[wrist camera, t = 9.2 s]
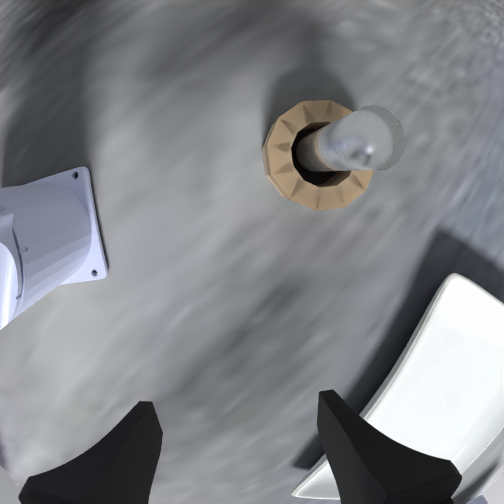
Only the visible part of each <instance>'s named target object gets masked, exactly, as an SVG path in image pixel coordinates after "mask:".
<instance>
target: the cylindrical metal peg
mask: <svg viewBox="0 0 504 504" xmlns="http://www.w3.org/2000/svg"><path fill="white" fill-rule="evenodd" d="M404 148H405V136H404V132H403V129H402V126H401V124H400V122H399V121H398V119H397V118H396V117H395V116H394V115H393V114H392V113H391V112H389V111H388V110H386V109H384V108H382V107H379V106H366V107H363V108H361V109H359V110H357V111H354V112H352V113H350V114H348V115H346V116H344V117H342V118H340V119H338V120H336V121H334V122H332V123H330V124H328V125H326V126H325V127H323V128H321V129H319V130H317V131H315V132H313V133H311V134H309V135H307V136H305V137H304V138H303V139H301V141H300V142H299V143H298V146H297V149H296V155H297V159H298V161H299V163H300V164H301V165H302V166H303V167H304V168H305V169H307V170H309V171H314V172H318V171H348V170H385V169H388V168H391V167H392V166H394V165H395V164H396V163H397V162H398V161H399V160H400V158H401V157H402V155H403V152H404Z"/></svg>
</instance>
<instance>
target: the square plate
mask: <svg viewBox="0 0 504 504" xmlns="http://www.w3.org/2000/svg"><path fill="white" fill-rule="evenodd" d="M359 415H360V416H361V417H362V418H363V419H364V420H366V421H367V422H368V423H369V424H371V425H372V426H373V427H374V428H376V429H377V430H379V431H380V432H382V433H383V434H385V435H386V436H388V437H389V438H391V439H393V440H395V441H396V442H398V443H400V444H402V445H405V446H407V447H409V448H411V449H414V450H416V451H419V452H421V453H424V454H427V455H430V456H434V457H438V458H442V459H447V460H451V462H452V463H453V464H454V465H455V466H456V468H457V469H458V471H459V473H460V474H462V473H463V472H464V471H465V470H466V469H467V468H468V467H469V466H470V465H471V464H472V463H473V462H474V461H475V460H476V459H477V458H478V457H479V456H480V454H481V453H482V452H483V451H484V450H485V449H486V448H487V447H488V446H489V444H490V443H491V442H492V441H493V440H494V439H495V437H496V436H497V435H498V434H499V432H500V431H501V430H502V429H503V427H504V303H502V302H501V301H500V300H498V299H497V298H495V297H494V296H493V295H491V294H490V293H489V292H487V291H486V290H484V289H483V288H482V287H480V286H479V285H477V284H476V283H474V282H473V281H471V280H470V279H468V278H466V277H464V276H462V275H460V274H457V273H452V274H449V275H448V276H447V277H446V278H445V280H444V281H443V283H442V284H441V285H440V287H439V288H438V290H437V292H436V293H435V295H434V297H433V299H432V301H431V302H430V304H429V306H428V307H427V309H426V311H425V313H424V315H423V316H422V318H421V320H420V322H419V323H418V325H417V327H416V329H415V331H414V333H413V334H412V336H411V338H410V340H409V342H408V343H407V345H406V347H405V349H404V351H403V352H402V354H401V355H400V357H399V359H398V360H397V362H396V364H395V365H394V367H393V368H392V370H391V371H390V373H389V374H388V376H387V377H386V379H385V380H384V382H383V383H382V385H381V386H380V388H379V389H378V390H377V392H376V393H375V395H374V396H373V397H372V399H371V400H370V401H369V403H368V404H367V405H366V407H365V408H364V409H363V411H362V412H361V413H360V414H359ZM291 494H292V495H293V496H296V497H302V498H317V499H340V496H339V492H338V488H337V484H336V481H335V478H334V476H333V473H332V470H331V468H330V465H329V462H328V460H327V457H326V455H325V454H324V455H323V456H322V457H321V458H320V459H319V461H318V462H317V463H316V464H315V465H314V466H313V467H312V468H311V469H310V470H309V472H308V473H307V474H306V475H305V476H304V477H303V479H302V480H301V481H300V482H299V484H298V485H297V486H296V487H295V488H294V489H293V490H292V492H291Z"/></svg>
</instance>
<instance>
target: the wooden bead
mask: <svg viewBox="0 0 504 504" xmlns="http://www.w3.org/2000/svg"><path fill="white" fill-rule="evenodd" d="M352 112H353V111H351V110H349V109H347V108H345V107H343V106H341V105H339V104H337V103H335V102H333V101H331V100H317V101H302V102H300V103H299V104H297V105H296V106H294V107H293V108H291V109H290V110H288V111H287V112H285V113H284V114H283V115H281V116H280V117H278V119H277V120H276V121H275V122H274V124H273V125H272V127H271V129H270V131H269V134H268V136H267V138H266V141H265V143H264V145H263V148H262V153H263V161H264V168H265V175H266V176H267V178H268V179H269V180H270V182H271V183H272V184H273V185H274V187H275V188H276V189H277V191H278V192H279V193H280V195H281V196H283V197H285V198H288V199H290V200H292V201H295V202H297V203H299V204H302V205H304V206H306V207H309V208H311V209H313V210H316V211H319V210H327V209H335V208H344V207H345V206H347V205H348V204H349V203H351V202H352V201H353V200H354V199H356V198H357V197H358V196H359V195H361V194H362V193H363V192H365V191H366V189H367V186H368V184H369V181H370V179H371V176H372V173H373V171H374V170H348V171H335V174H334V176H333V177H331V178H330V179H329V180H327V181H326V182H325V183H323V184H321V185H313V184H311V183H309V182H306V181H304V180H303V178H302V177H301V176H300V174H299V173H298V172H297V170H296V169H295V168H294V166H293V161H292V153H291V146H292V144H293V142H294V139H295V137H296V134H297V132H298V131H300V130H303V129H317V130H319V129H321V128H323V127H325V126H326V125H328V124H330V123H332V122H334V121H336V120H338V119H340V118H342V117H344V116H346V115H348V114H350V113H352Z"/></svg>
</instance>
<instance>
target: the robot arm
mask: <svg viewBox="0 0 504 504" xmlns="http://www.w3.org/2000/svg"><path fill="white" fill-rule="evenodd" d="M76 172H77V173H78V178H77V179H76V178H75V173H76ZM93 270H96V271H97V273H98V275H95V274H94V272H93ZM107 275H108V268H107V264H106V259H105V255H104V251H103V246H102V242H101V237H100V232H99V227H98V222H97V217H96V211H95V206H94V200H93V194H92V187H91V181H90V173H89V170H88V168H87V167H78V168H74V169H71V170H68V171H64V172H61V173H58V174H55V175H52V176H49V177H46V178H43V179H40V180H37V181H34V182H31V183H28V184H25V185H21V186H12V187H4V188H0V330H1V329H2V328H3V327H4V326H6V325H7V324H8V323H9V322H10V321H12V320H13V319H14V318H16V317H17V316H18V315H19V314H21V313H22V312H23V311H25V310H26V309H27V308H29V307H30V306H31V305H33V304H34V303H35V302H37V301H38V300H39V299H41V298H42V297H43V296H45V295H46V294H48V293H49V292H50V291H52V290H53V289H54V288H56V287H57V286H59V285H61V284H69V283H76V282H83V281H90V280H97V279H103V278H105V277H106V276H107ZM317 426H318V431H319V436H320V440H321V444H322V446H323V449H324V452H325V455H326V457H327V460H328V462H329V465H330V468H331V470H332V473H333V476H334V478H335V481H336V484H337V488H338V492H339V496H340V500H341V504H453V501H452V499H451V496H452V495H453V493H454V492H455V491H456V489H457V488H458V486H459V485H460V483H461V480H462V476H461V474H460V473H459V471H458V469H457V468H456V466H455V465H454V464H453V463H452V462H451V460H447V459H442V458H438V457H434V456H430V455H427V454H424V453H421V452H419V451H416V450H414V449H411V448H409V447H407V446H405V445H402V444H400V443H398V442H396V441H395V440H393V439H391V438H389V437H388V436H386V435H385V434H383V433H382V432H380V431H379V430H377V429H376V428H374V427H373V426H372V425H371V424H369V423H368V422H367V421H366V420H364V419H363V418H362V417H361V416H360V415H359V414H357V413H356V412H355V411H354V410H353V409H352V408H351V407H350V406H349V405H348V404H347V403H346V402H345V401H344V400H343V399H342V398H341V397H340V396H339V395H338V394H337V393H336V392H335V391H334V390H326V391H320V392H319V401H318V416H317ZM162 436H163V432H162V429H161V426H160V424H159V421H158V418H157V415H156V412H155V409H154V406H153V403H152V402H147V401H139V402H138V403H137V404H136V405H135V406H134V407H133V408H132V409H131V411H130V412H129V413H128V414H127V415H126V416H125V417H124V418H123V419H122V420H121V421H120V422H119V423H118V424H117V425H116V426H115V427H114V428H113V429H112V430H111V431H110V432H109V433H108V434H107V435H106V436H105V437H103V438H102V439H101V440H100V441H99V442H98V443H96V444H95V445H94V446H93V447H91V448H90V449H88V450H87V451H86V452H84V453H83V454H81V455H79V456H78V457H76V458H74V459H73V460H71V461H69V462H67V463H65V464H63V465H61V466H59V467H57V468H55V469H52V470H50V471H47V472H44V473H41V474H38V475H34V476H31V477H29V478H28V479H27V481H26V483H25V485H24V487H23V488H22V490H21V493H20V494H19V500H20V502H21V504H148V501H149V494H150V490H151V486H152V482H153V478H154V474H155V471H156V467H157V463H158V460H159V456H160V452H161V445H162ZM466 504H488V503H487V501H486V500H485V498H484V497H483V495H480V496H479V497H477V498H475V499H473V500H472V501H470V502H468V503H466Z"/></svg>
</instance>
